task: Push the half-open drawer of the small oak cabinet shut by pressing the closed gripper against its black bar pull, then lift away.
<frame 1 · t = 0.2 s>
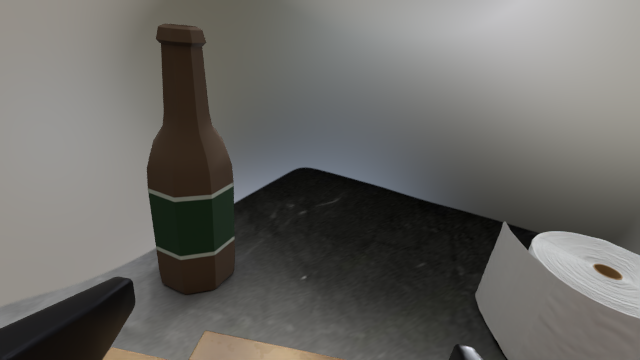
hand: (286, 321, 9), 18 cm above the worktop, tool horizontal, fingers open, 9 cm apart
toilet tissue: (547, 354, 30), on the worktop
beer bottle: (199, 271, 36), on the worktop
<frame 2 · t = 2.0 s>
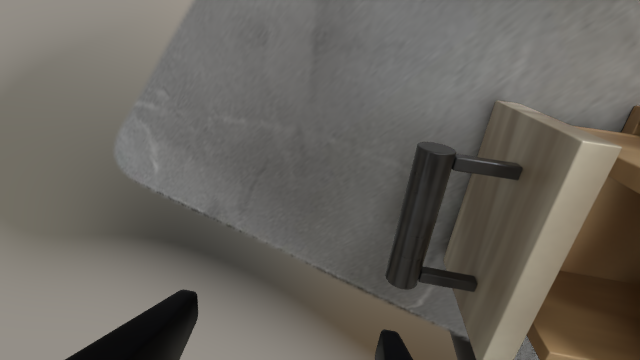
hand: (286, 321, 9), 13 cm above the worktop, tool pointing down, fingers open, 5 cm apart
drawer: (577, 236, 16), point 5 cm above the worktop, slide at 6.0 cm
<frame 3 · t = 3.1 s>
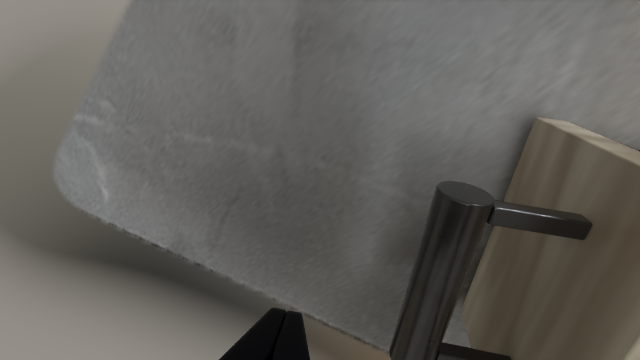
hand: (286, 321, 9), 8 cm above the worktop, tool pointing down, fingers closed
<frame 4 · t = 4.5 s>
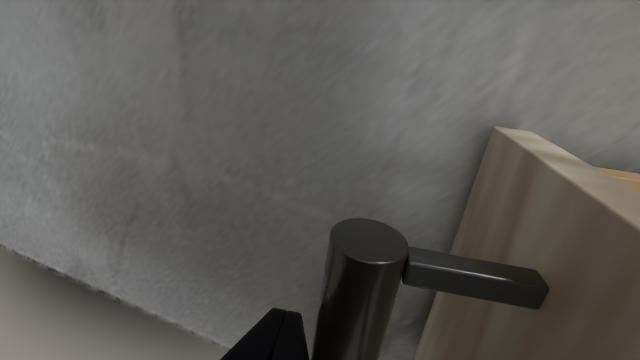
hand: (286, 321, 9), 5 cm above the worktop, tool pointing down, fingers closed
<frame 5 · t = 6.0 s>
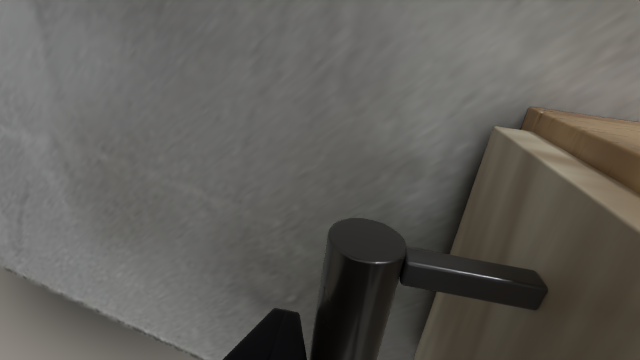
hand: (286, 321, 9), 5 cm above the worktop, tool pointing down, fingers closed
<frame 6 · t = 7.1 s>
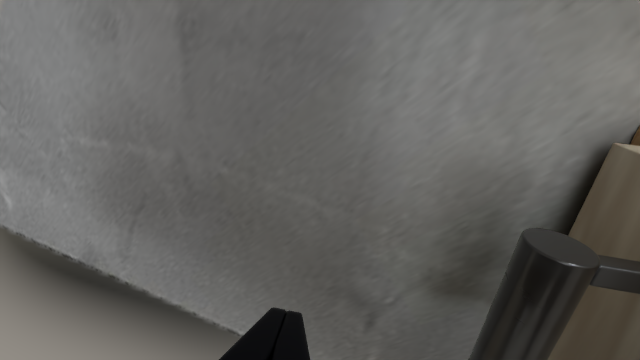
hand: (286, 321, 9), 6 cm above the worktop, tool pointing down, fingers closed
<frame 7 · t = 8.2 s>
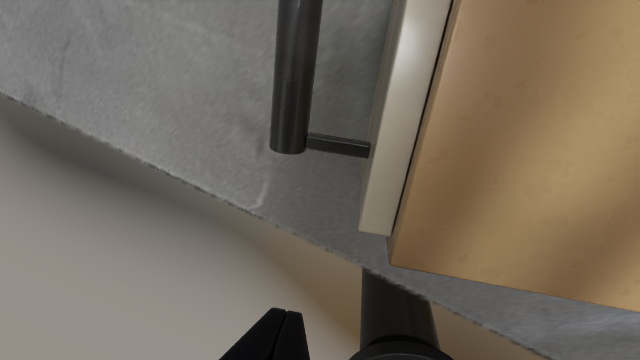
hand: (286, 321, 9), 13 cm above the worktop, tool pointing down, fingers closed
cabinet: (531, 86, 17), on the worktop
drawer: (484, 89, 13), point 5 cm above the worktop, slide at 0.0 cm
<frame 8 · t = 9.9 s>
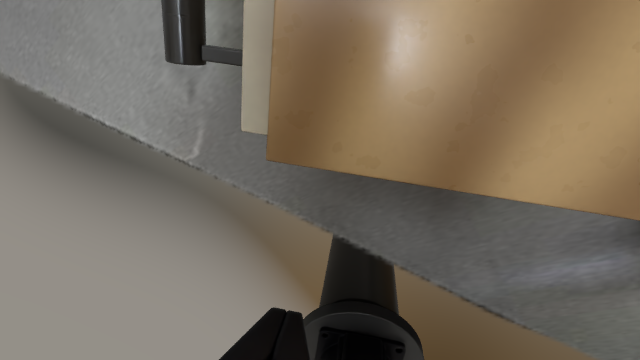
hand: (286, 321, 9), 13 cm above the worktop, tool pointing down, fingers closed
cabinet: (454, 13, 17), on the worktop
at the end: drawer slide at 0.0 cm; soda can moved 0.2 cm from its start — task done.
